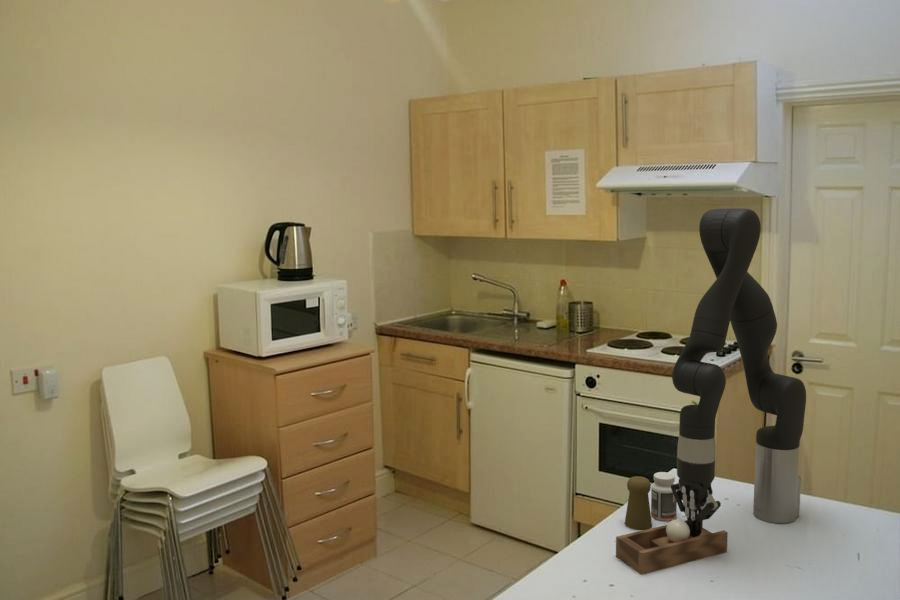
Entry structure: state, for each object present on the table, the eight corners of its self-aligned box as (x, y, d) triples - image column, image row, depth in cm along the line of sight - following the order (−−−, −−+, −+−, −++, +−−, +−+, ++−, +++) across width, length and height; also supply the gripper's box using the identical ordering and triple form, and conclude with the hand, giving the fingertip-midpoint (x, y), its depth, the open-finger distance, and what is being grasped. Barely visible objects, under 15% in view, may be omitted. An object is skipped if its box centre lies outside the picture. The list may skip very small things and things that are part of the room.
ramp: (698, 536, 172) (699, 517, 171) (727, 552, 164) (727, 532, 164) (615, 556, 163) (616, 536, 163) (641, 574, 156) (641, 553, 155)
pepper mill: (652, 531, 175) (653, 483, 173) (624, 529, 176) (625, 482, 175) (651, 520, 181) (652, 474, 179) (624, 518, 182) (625, 472, 181)
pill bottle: (679, 514, 184) (680, 473, 182) (672, 523, 179) (673, 481, 177) (654, 509, 187) (655, 469, 185) (647, 518, 182) (648, 477, 180)
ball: (679, 535, 167) (679, 513, 167) (694, 544, 163) (695, 522, 162) (660, 539, 165) (661, 518, 165) (676, 549, 161) (676, 526, 160)
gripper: (733, 463, 159) (730, 544, 161) (688, 444, 171) (686, 520, 173) (704, 468, 156) (701, 551, 158) (660, 449, 168) (658, 526, 170)
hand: (693, 535), depth 166 cm, fingers closed
